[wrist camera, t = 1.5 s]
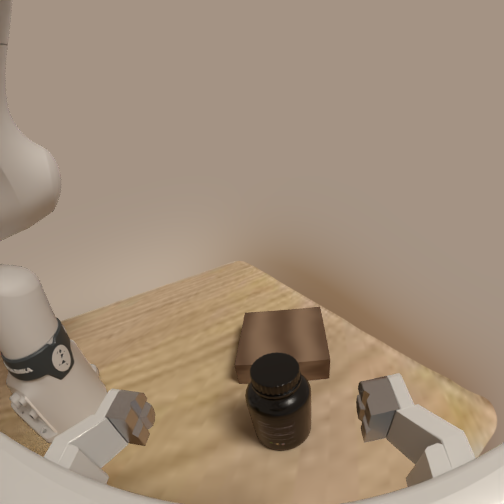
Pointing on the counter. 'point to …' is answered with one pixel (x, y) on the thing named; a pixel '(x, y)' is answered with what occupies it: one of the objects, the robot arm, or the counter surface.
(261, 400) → the supplement bottle
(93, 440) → the robot arm
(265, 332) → the walnut stand
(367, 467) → the counter surface
